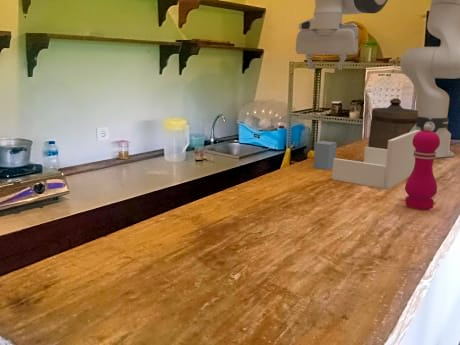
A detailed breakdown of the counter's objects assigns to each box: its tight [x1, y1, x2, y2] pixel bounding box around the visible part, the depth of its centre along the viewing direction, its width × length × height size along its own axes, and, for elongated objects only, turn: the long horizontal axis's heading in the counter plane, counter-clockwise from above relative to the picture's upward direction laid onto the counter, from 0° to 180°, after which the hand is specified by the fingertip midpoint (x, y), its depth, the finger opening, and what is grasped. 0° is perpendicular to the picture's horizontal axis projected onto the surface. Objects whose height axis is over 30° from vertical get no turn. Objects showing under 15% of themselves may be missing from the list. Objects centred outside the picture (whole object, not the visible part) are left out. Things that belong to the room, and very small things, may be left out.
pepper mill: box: [404, 124, 440, 211], centre depth 114 cm, size 7×7×20 cm
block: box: [313, 140, 338, 171], centre depth 150 cm, size 5×5×9 cm
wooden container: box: [367, 97, 418, 149], centre depth 161 cm, size 15×15×22 cm
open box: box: [331, 130, 420, 190], centre depth 140 cm, size 24×16×14 cm, turn 143°
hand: (324, 69), depth 152 cm, fingers open, 8 cm apart
